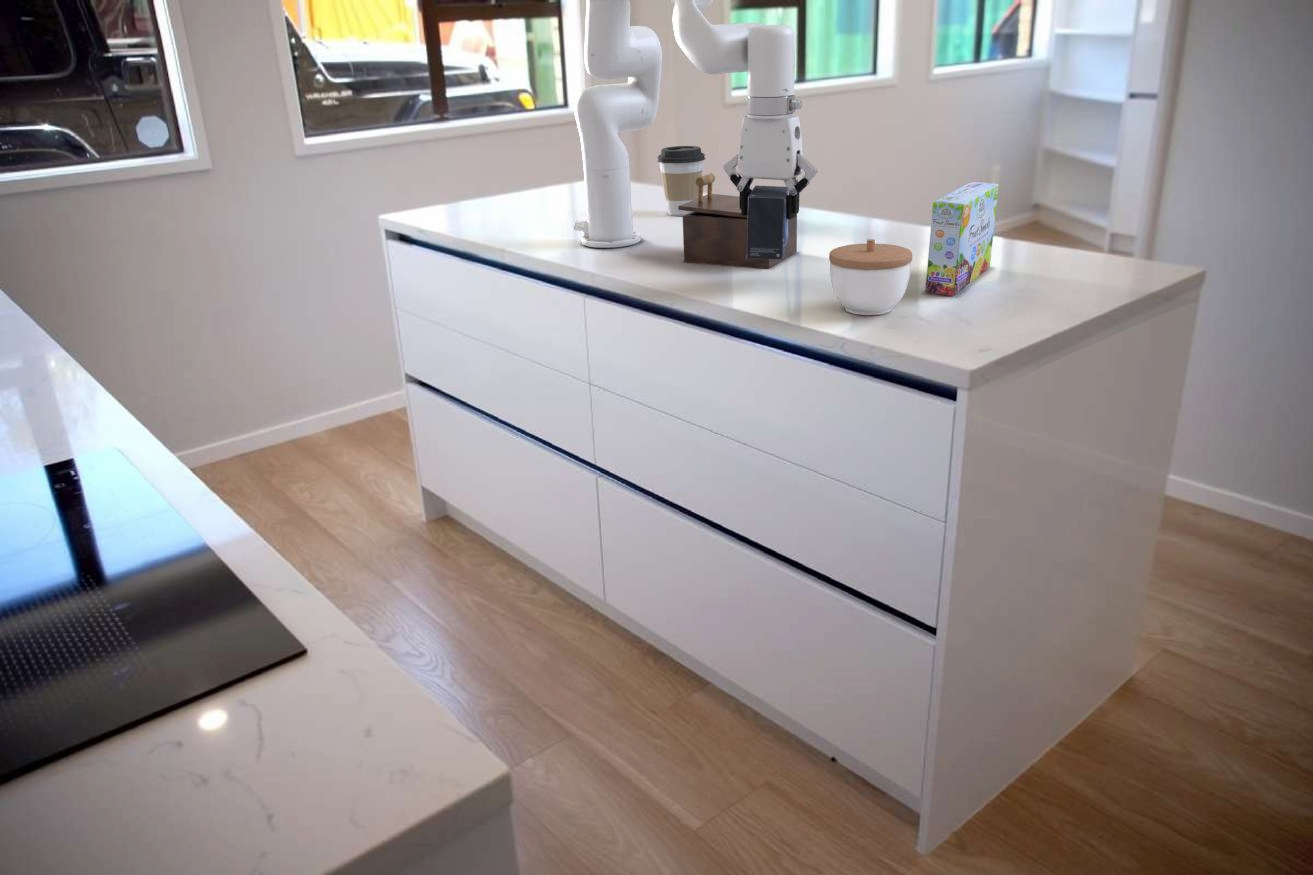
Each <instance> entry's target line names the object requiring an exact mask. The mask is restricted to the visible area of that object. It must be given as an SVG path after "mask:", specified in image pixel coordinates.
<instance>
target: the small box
mask: <svg viewBox="0 0 1313 875" xmlns="http://www.w3.org/2000/svg"><path fill="white" fill-rule="evenodd" d="M787 195H789V190H788V188H787V187H786V186H778V185H777V186H775V185H757V184H756V185H754V187H753V188H752V191H751V193H750V195H749V196H748V209H747V249H746V258H753V259H782V258H783V255H784V252H785V250H786V247H787V244H788V229H789V219H787V218H786V197H787Z"/></svg>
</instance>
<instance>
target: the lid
mask: <svg viewBox="0 0 1313 875" xmlns="http://www.w3.org/2000/svg"><path fill="white" fill-rule="evenodd" d="M715 181H716V176H715V174H714V173H711V172H710V173H707V174H703V175H702V176H701V177H698V178H697V179H696V185H697V186H698V198H697V199H695V200H692V201H690V202H687V203H684V204H682V205H679V206H678V210H683V211H692V212H700V213H709V214H718V215H727V216H735V217H744V218H747V215H746V216H742V215H741V209H740V195H730V194H719V193H713V183H715ZM704 186H707V194H706V195H704Z"/></svg>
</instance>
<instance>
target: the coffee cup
mask: <svg viewBox="0 0 1313 875" xmlns="http://www.w3.org/2000/svg"><path fill="white" fill-rule="evenodd" d="M705 156H706V154H705V153H704V152H702V148H701V147H700V146H698V145H697V146H696V145H675V146H667V147H663V148H662V149H660V154H659V155H658V156H657V160H656V162H657V163H659V168H660V175H661V181H662V186H663V192H664V200H665V204H666V210H667V212H668V216H669V215H670V216H673V217H683V215H686V214H688V213H690V212H692V211H683V210H678V206H679V205H682V204H684V203H687V202H690V201H692V200H695V199H697V198H698V186H697V185H696V179H697V178H698V177H701V176H703V166H704V161H705V160H706V157H705Z"/></svg>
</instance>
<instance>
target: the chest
mask: <svg viewBox="0 0 1313 875" xmlns="http://www.w3.org/2000/svg"><path fill="white" fill-rule="evenodd" d="M682 238H683V241H682V242H683V262H685V263H692V264H693V263H694V264H705V265H718V266H729V267H743V268H753V269H768V270H769V269H772V268H773V267H774V266H777V265H778V264H780V263H781V262H783V261H785V260H787V259H788V258H790V257H791V256H793V255H795V254H796V253H798V252H797V251H798V215H797V216H796V217H794V218H792V219H789V229H788V244H787V247H786V250H785V252H784V255H783V258H782V259H753V258H746V249H747V218H744V217H735V216H727V215H718V214H709V213H700V212H690V213H688V214H686V215H683V216H682Z"/></svg>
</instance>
